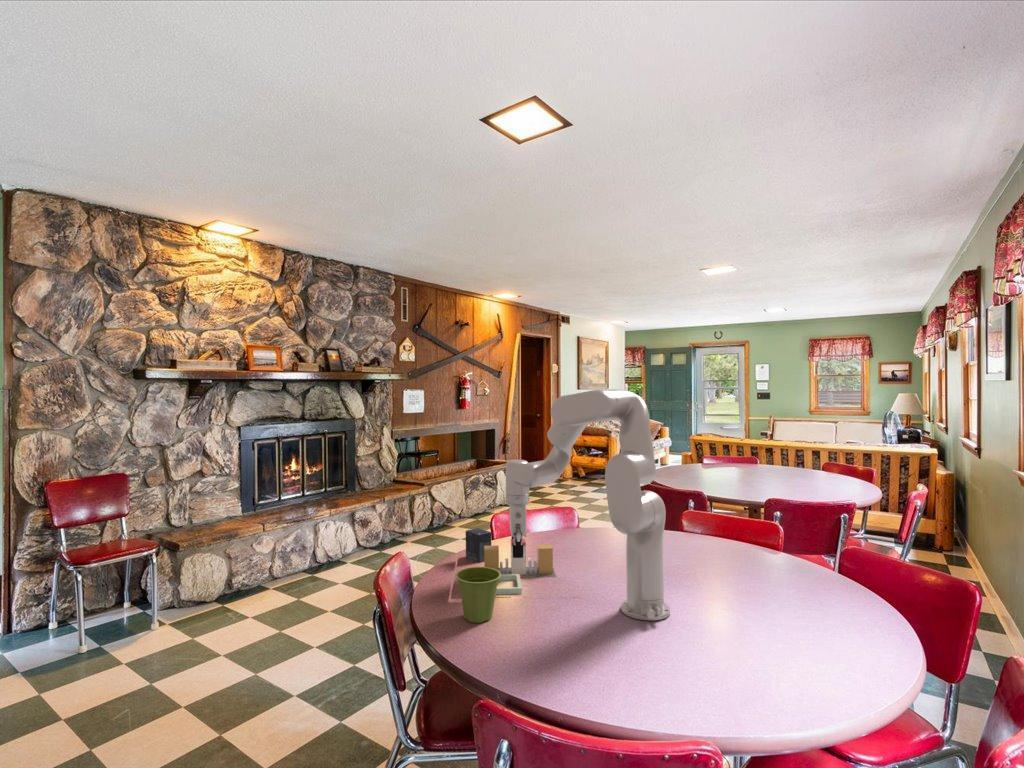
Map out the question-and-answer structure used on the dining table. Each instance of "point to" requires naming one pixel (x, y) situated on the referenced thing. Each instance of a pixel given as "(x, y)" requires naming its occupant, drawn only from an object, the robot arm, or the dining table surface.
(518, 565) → the white block red top
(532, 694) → the dining table surface
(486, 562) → the fuse block
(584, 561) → the dining table surface
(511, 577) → the tray
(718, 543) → the dining table surface
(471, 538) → the box
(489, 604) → the plant pot
